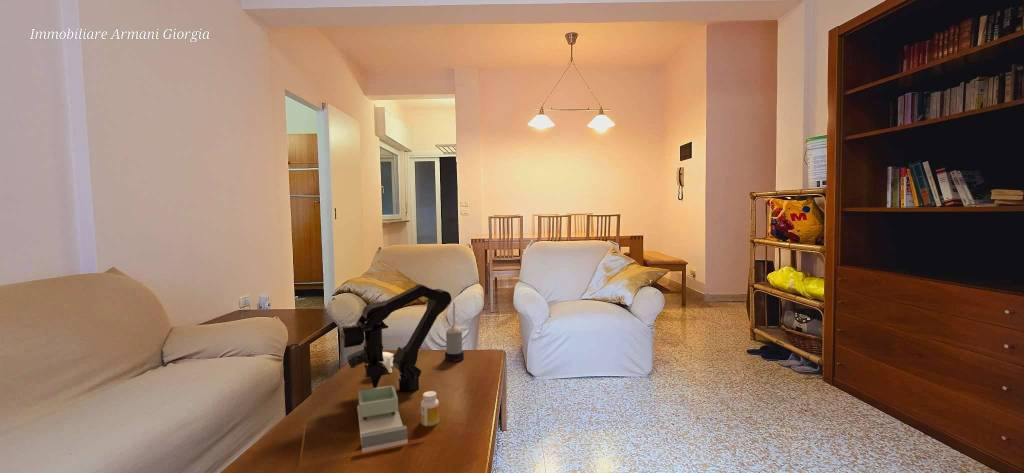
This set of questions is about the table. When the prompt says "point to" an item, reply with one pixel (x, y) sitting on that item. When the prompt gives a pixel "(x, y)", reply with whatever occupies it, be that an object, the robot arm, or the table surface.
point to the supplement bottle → (429, 409)
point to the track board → (382, 425)
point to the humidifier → (454, 342)
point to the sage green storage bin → (378, 401)
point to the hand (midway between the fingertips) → (374, 387)
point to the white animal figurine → (388, 360)
